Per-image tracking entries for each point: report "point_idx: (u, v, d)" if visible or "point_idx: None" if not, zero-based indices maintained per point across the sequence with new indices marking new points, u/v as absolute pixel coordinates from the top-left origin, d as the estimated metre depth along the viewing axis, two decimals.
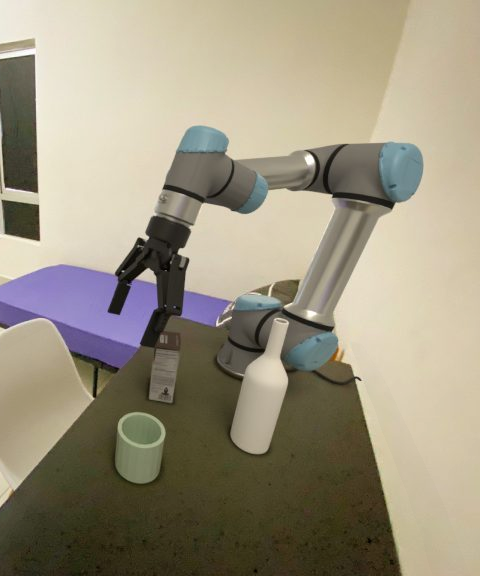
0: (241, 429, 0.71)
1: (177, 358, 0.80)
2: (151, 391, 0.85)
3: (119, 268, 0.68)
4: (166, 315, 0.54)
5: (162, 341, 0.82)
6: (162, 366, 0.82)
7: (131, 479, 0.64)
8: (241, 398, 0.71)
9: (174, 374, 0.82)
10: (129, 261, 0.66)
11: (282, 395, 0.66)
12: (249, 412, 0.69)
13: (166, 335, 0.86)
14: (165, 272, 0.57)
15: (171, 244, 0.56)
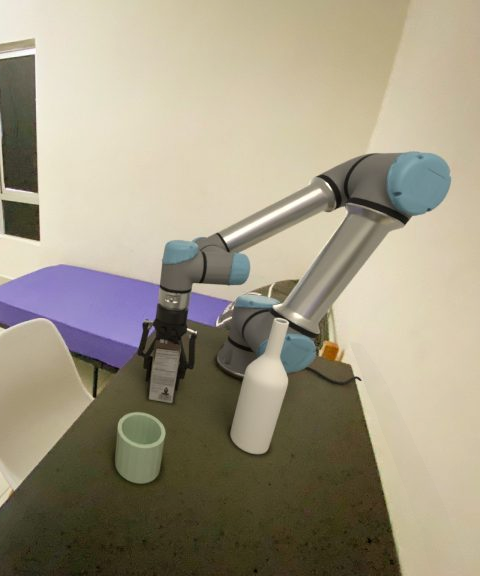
0: (241, 429, 0.71)
1: (177, 358, 0.80)
2: (151, 391, 0.85)
3: (139, 350, 0.87)
4: None
5: (162, 341, 0.82)
6: (162, 366, 0.82)
7: (131, 479, 0.64)
8: (241, 398, 0.71)
9: (174, 374, 0.82)
10: (145, 340, 0.86)
11: (282, 395, 0.66)
12: (249, 412, 0.69)
13: None
14: (180, 341, 0.83)
15: (185, 323, 0.80)
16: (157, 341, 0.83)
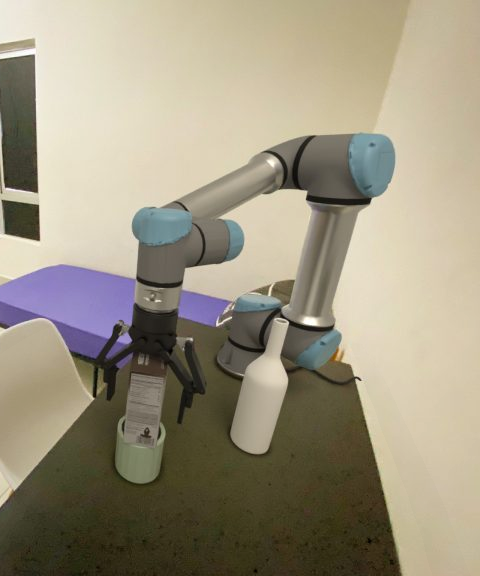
0: (241, 429, 0.71)
1: (162, 387, 0.55)
2: (126, 432, 0.60)
3: (99, 357, 0.62)
4: None
5: (141, 362, 0.57)
6: (140, 398, 0.57)
7: (131, 479, 0.64)
8: (241, 398, 0.71)
9: (158, 409, 0.57)
10: None
11: (282, 395, 0.66)
12: (249, 412, 0.69)
13: None
14: (172, 355, 0.57)
15: (173, 332, 0.54)
16: (134, 362, 0.58)
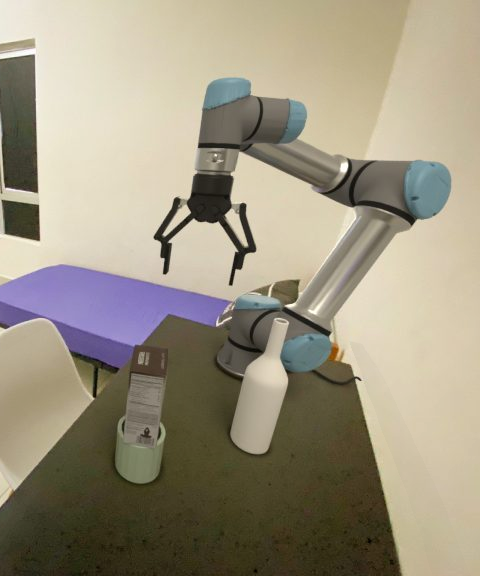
0: (241, 429, 0.71)
1: (162, 387, 0.55)
2: (126, 432, 0.60)
3: (158, 232, 0.70)
4: None
5: (141, 362, 0.57)
6: (140, 398, 0.57)
7: (131, 479, 0.64)
8: (241, 398, 0.71)
9: (158, 409, 0.57)
10: (169, 221, 0.69)
11: (282, 395, 0.66)
12: (249, 412, 0.69)
13: (147, 352, 0.61)
14: (227, 220, 0.65)
15: (229, 195, 0.63)
16: (134, 362, 0.58)
